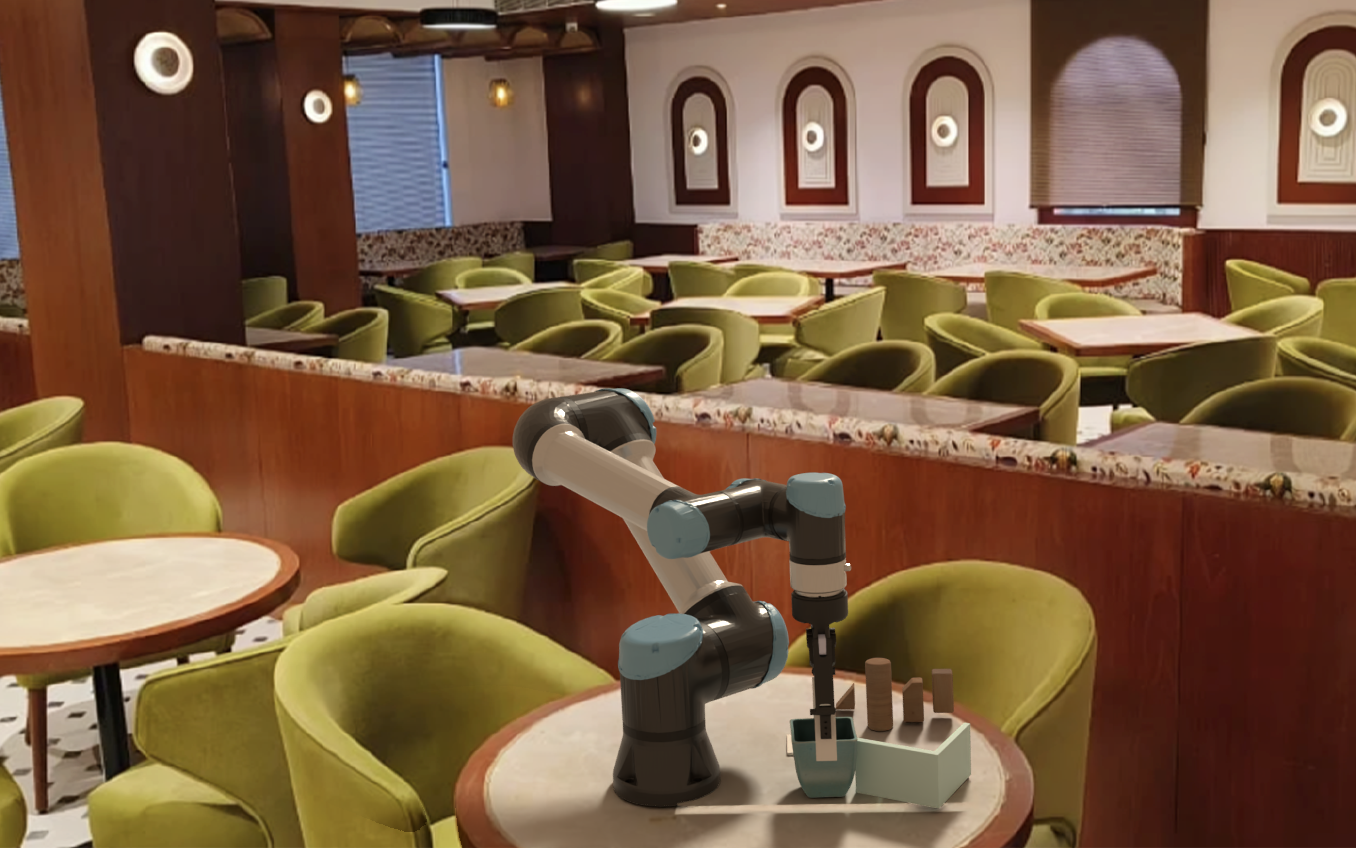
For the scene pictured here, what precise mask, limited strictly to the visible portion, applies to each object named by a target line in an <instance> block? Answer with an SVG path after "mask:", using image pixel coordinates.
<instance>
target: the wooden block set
mask: <svg viewBox="0 0 1356 848" xmlns="http://www.w3.org/2000/svg"><path fill="white" fill-rule="evenodd" d="M864 665H865V666H864V668H865V691H866V692H865V693H866V695H865V696H866V716H867V717H866V718H867V719H866V720H867V723H866V724H867V727H868V729H869V730H871V731H876V732H884V731H885V732H886V731H889V730H891V729H893V727H894V709H893V708H894V706H893V684H892V662H891V660H890V659H887V658H885V657H872V658H869V659H868V658H867V660H866V661H865V662H864ZM953 676H954V675H953V670H952V668H933V669H931V686H932V687H931V689H932V690H931V691H932V711H933V713H934V714H951V713H954V711H955V708H954V707H955V705H954V703H955V702H954V701H955V700H954V679H953V678H954V677H953ZM923 683H924V682H923V677H910V679H909V680H908V681H907V682H906V683H905V684H904V685H903V686H902V689H901V690H902V712H903V713H902V714H903V715H902V716H903V722H904V723H923V722H924V721H925V711H924V708H925V707H924V684H923ZM855 694H856V693H855V682H853V683H852V684H851V685H850V686H849V688H847V690H846V691H845V692H844V694H843V695H842V696H841V697H840V698H839V700H837V702H836V703H835V708H836V711H841V710H845V711H847V710H855V708H856V695H855Z"/></svg>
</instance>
